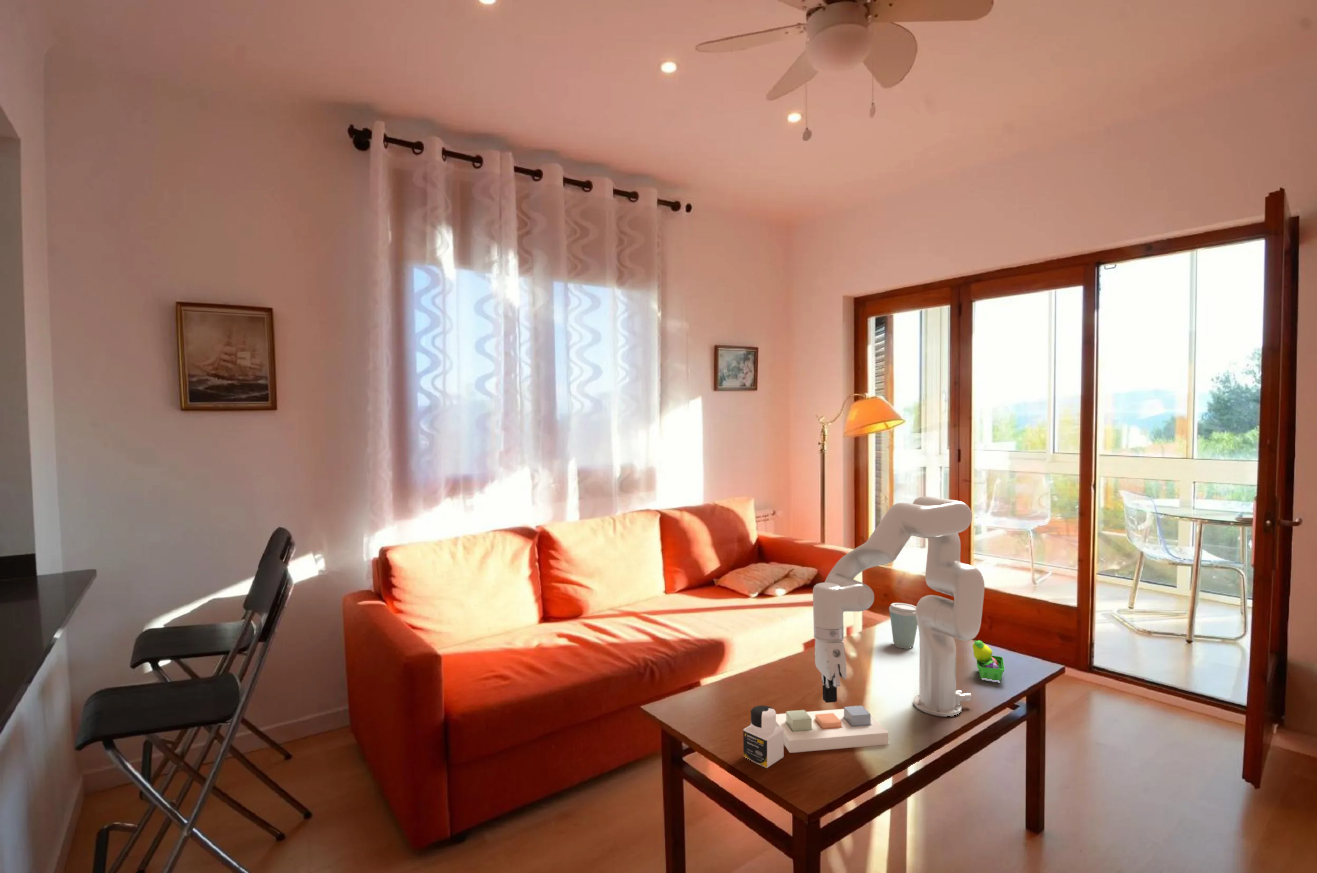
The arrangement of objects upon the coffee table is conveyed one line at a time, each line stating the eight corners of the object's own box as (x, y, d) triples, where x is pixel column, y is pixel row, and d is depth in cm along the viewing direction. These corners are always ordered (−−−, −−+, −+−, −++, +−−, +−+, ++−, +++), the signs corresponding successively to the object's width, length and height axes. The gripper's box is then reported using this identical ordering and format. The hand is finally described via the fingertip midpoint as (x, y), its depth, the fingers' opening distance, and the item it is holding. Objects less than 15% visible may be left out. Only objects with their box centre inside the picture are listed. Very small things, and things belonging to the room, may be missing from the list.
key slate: (861, 720, 168) (861, 705, 168) (870, 729, 163) (870, 714, 163) (843, 721, 168) (843, 706, 168) (852, 730, 163) (852, 715, 163)
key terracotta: (833, 727, 167) (833, 713, 167) (841, 737, 162) (841, 722, 162) (815, 729, 167) (815, 714, 166) (822, 738, 162) (822, 723, 162)
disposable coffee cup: (898, 638, 235) (898, 598, 234) (926, 646, 227) (926, 605, 226) (882, 645, 228) (883, 604, 228) (911, 654, 220) (911, 611, 219)
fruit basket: (1004, 686, 193) (1005, 649, 193) (972, 681, 197) (972, 645, 197) (1002, 672, 204) (1002, 637, 203) (972, 667, 207) (972, 633, 207)
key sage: (804, 724, 166) (804, 709, 166) (811, 734, 161) (811, 718, 161) (786, 726, 165) (786, 711, 165) (792, 735, 160) (792, 720, 160)
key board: (862, 718, 173) (862, 707, 173) (888, 744, 159) (888, 732, 159) (771, 725, 170) (771, 714, 169) (789, 752, 156) (789, 740, 156)
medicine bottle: (742, 757, 154) (742, 709, 153) (760, 746, 159) (760, 699, 158) (766, 769, 149) (766, 718, 148) (784, 757, 154) (784, 708, 153)
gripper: (855, 640, 157) (856, 713, 158) (830, 621, 172) (831, 687, 172) (826, 643, 156) (827, 716, 157) (804, 623, 171) (805, 690, 171)
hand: (829, 700), depth 164 cm, fingers closed
